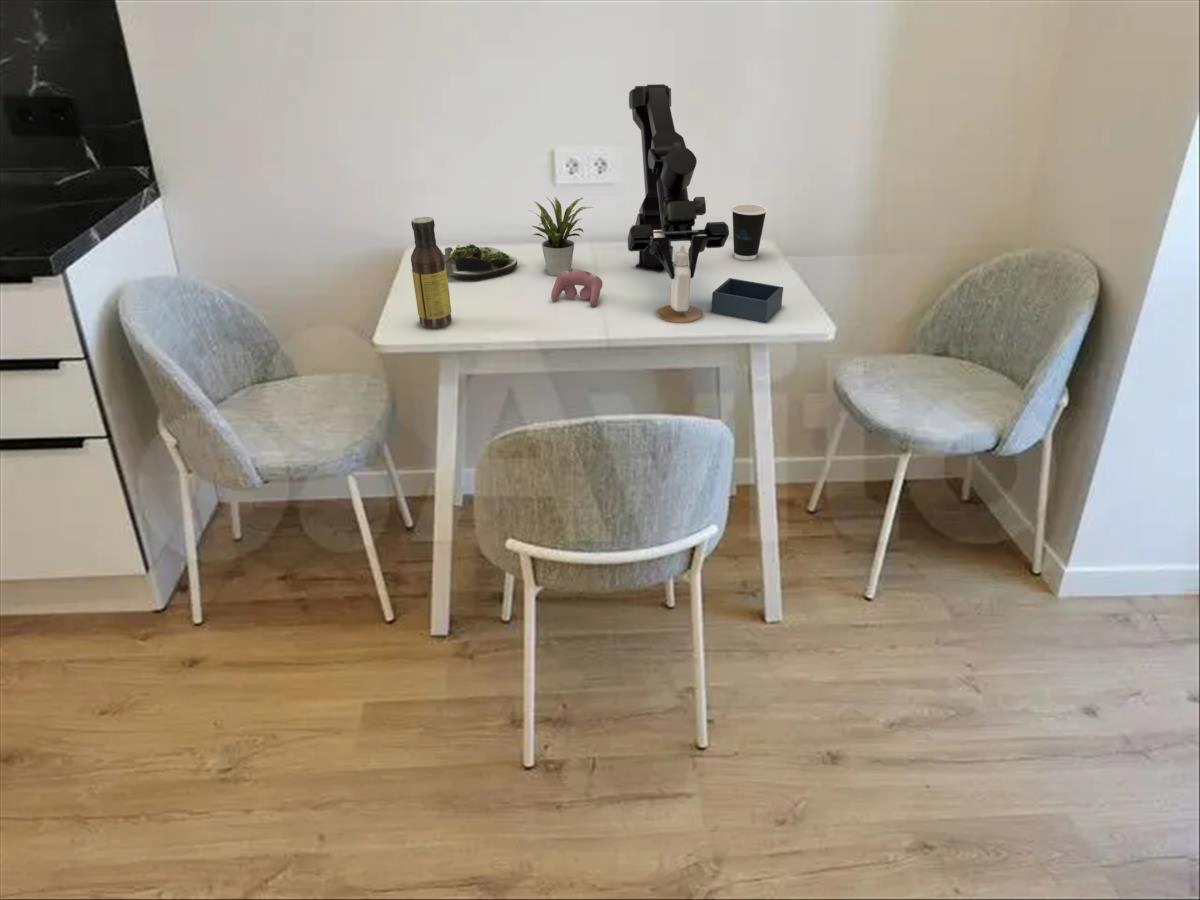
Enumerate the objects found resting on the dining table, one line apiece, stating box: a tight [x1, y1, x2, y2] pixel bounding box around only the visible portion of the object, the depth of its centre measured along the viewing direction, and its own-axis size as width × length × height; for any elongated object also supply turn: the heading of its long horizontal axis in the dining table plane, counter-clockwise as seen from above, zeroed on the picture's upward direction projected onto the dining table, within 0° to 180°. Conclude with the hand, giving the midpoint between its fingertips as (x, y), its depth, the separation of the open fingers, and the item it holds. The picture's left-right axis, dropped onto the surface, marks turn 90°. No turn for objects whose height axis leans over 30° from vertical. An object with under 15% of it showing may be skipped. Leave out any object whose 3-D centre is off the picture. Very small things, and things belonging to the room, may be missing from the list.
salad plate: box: [443, 243, 518, 282], centre depth 195 cm, size 19×18×5 cm
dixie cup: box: [731, 203, 768, 261], centre depth 198 cm, size 8×8×11 cm
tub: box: [710, 277, 784, 323], centre depth 172 cm, size 11×9×4 cm
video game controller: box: [550, 269, 603, 307], centre depth 177 cm, size 10×5×7 cm, turn 71°
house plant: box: [527, 196, 595, 276], centre depth 189 cm, size 14×14×16 cm
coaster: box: [657, 304, 702, 324], centre depth 171 cm, size 8×8×1 cm
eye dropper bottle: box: [670, 245, 692, 312], centre depth 168 cm, size 4×6×12 cm
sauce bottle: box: [410, 216, 452, 329], centre depth 163 cm, size 6×6×20 cm
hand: (682, 277), depth 166 cm, fingers closed on eye dropper bottle, 3 cm apart
